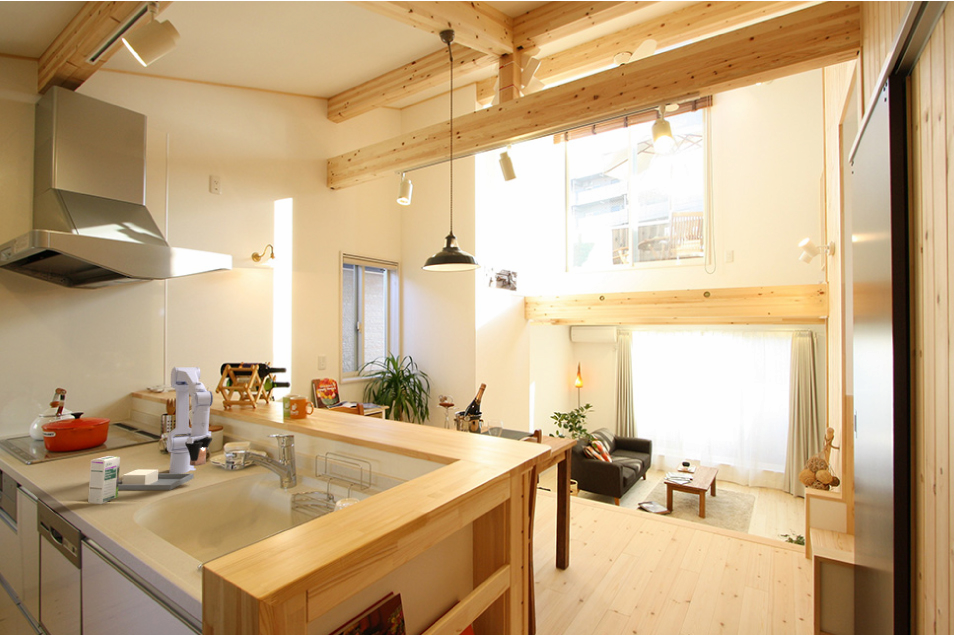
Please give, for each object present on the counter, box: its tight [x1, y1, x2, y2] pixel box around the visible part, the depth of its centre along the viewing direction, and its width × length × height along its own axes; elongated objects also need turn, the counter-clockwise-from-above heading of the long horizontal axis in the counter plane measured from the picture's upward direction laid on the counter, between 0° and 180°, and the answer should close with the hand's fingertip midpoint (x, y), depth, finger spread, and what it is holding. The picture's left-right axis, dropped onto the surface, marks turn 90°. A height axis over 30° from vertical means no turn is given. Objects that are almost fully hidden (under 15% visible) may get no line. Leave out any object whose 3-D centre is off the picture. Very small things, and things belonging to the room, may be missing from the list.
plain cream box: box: [121, 469, 159, 485], centre depth 176 cm, size 8×8×4 cm
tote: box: [118, 472, 195, 491], centre depth 177 cm, size 16×21×2 cm
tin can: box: [190, 447, 207, 467], centre depth 180 cm, size 5×5×6 cm
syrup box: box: [87, 455, 121, 505], centre depth 159 cm, size 6×6×14 cm
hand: (197, 458), depth 180 cm, fingers closed on tin can, 5 cm apart
